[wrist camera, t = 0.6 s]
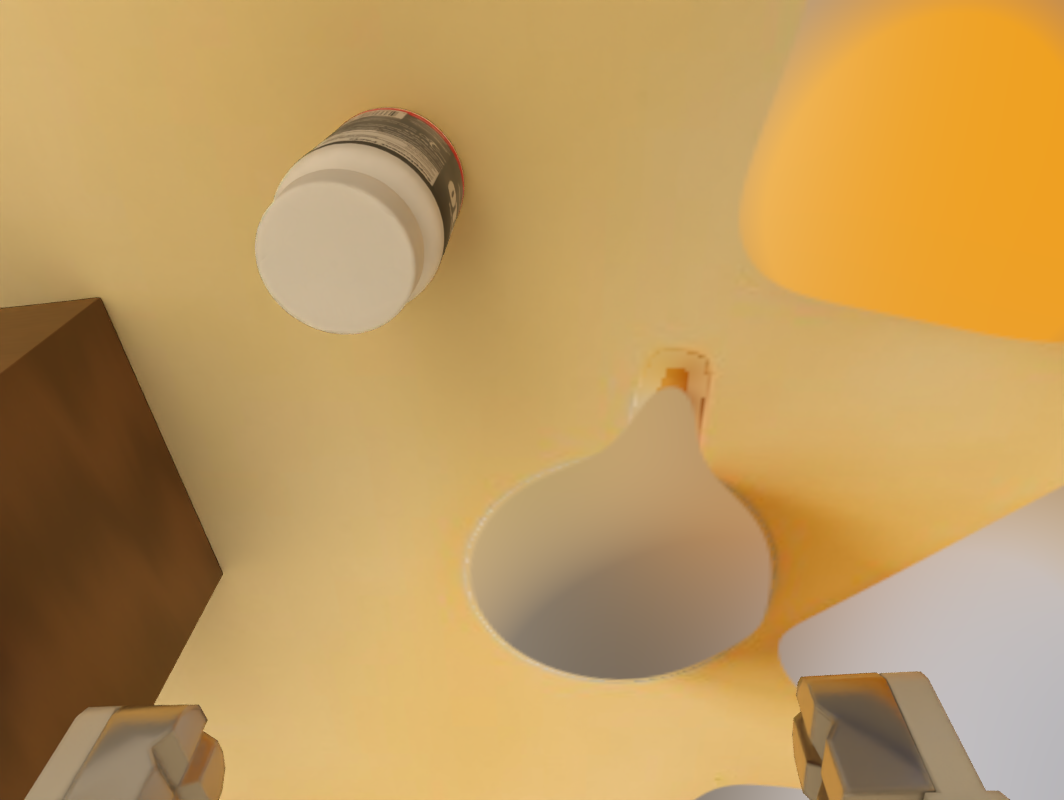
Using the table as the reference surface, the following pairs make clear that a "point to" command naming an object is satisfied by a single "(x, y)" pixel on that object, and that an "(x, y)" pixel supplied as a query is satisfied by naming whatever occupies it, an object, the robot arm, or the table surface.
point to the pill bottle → (361, 222)
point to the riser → (84, 535)
